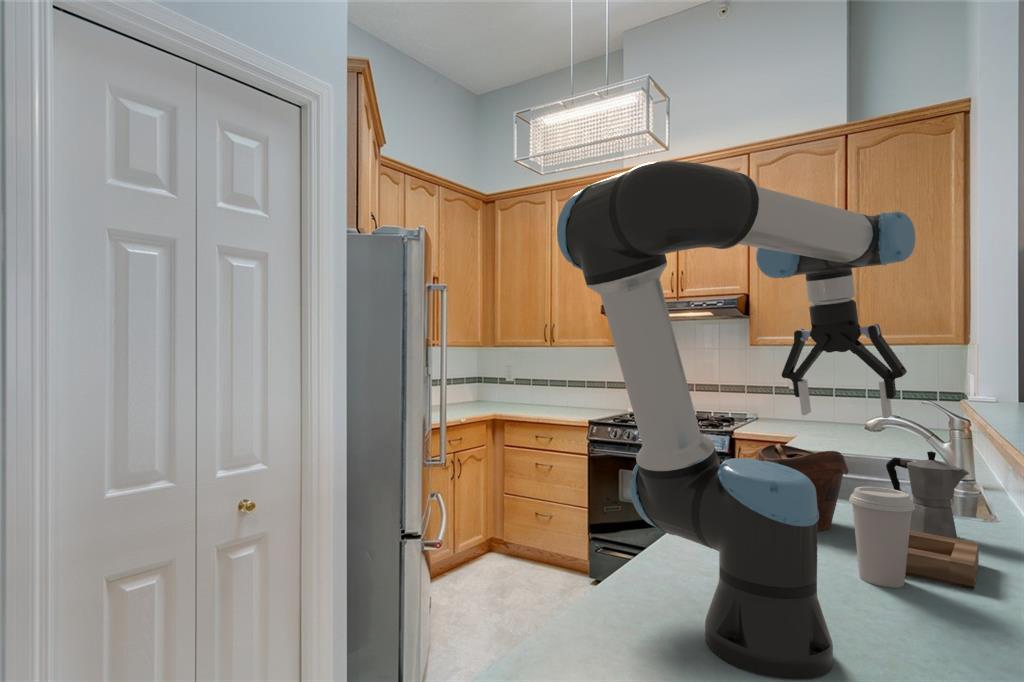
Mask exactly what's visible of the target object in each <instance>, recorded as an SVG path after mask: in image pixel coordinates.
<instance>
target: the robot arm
mask: <svg viewBox="0 0 1024 682" xmlns="http://www.w3.org/2000/svg"><path fill="white" fill-rule="evenodd" d="M556 226H557V227H556V238H557V243H558V247H559V249H560V252H561V254H562V256H563V257H564V259H565V260H566V261H567V262H568V263H570V264H572V266H573V267H574V268H576V269H578V270H581V271H582V274H583V278H584V280H585V285H586V287H587V288H588V289H590V290H591V291H593V292H595V293H597V294H598V296H600V298H601V299H600V300H601V303H602V305H603V309H604V312H605V316H606V319H607V323H608V326H609V330H610V331H609V332H610V334H611V338H612V342H613V344H614V348H615V352H616V355H617V359H618V363H619V366H620V371H621V373H622V377H623V381H624V384H625V388H626V391H627V395H628V399H629V402H630V405H631V410H632V413H633V416H634V419H635V424H636V426H637V431H638V435H639V437H640V438H639V439H640V441H641V448H640V449H639V451H638V452H637V454H636V457H635V460H636V464H635V465H634V468H633V470H632V475H633V478H632V479H630V482H629V490H630V498H631V501H632V505H633V506H634V508H635V510H636V512H637V513H638V515H639V516H640V517H641V518H642V519H643V521H644V522H646V523H647V524H649V525H651V526H652V527H655V528H657V529H658V530H660V532H664V533H667V534H668V535H670V536H671V535H672V536H676V537H679V538H682V539H685V540H688V541H690V542H693V543H695V544H699V545H701V546H704V547H706V548H709V549H713V550H714V551H717V552H718V555H719V556H718V559H719V561H718V563H719V564H718V565H719V571H718V572H719V573H718V575H719V577H718V578H719V579H718V582H717V586H716V588H715V592H714V594H713V597H712V600H711V603H710V605H709V608H708V611H707V613H706V616H705V620H704V621H705V622H704V640H705V642H706V644H707V647H708V648H709V649H710V650H711V651H712V653H714V654H715V655H716V656H718V657H719V658H720V659H722V660H724V661H726V662H727V663H729V664H731V665H733V666H735V667H737V668H740V669H742V670H744V671H748V672H751V673H754V674H757V675H761V676H767V677H771V678H777V679H782V680H783V679H784V680H785V679H786V680H807V679H808V680H809V679H814V678H817V677H820V676H821V677H822V676H823V675H826V674H827V673H828V672H830V670H831V669H832V667H833V665H834V645H833V640H832V637H831V634H830V630H829V628H828V625H827V622H826V618H825V616H824V614H823V610H822V606H821V604H820V601H819V598H818V534H819V533H818V519H819V511H818V508H817V497H816V489H815V486H814V485H813V483H812V482H811V480H810V479H809V478H808V477H807V476H806V475H804V474H803V473H801V472H799V471H797V470H795V469H792V468H790V467H787V466H784V465H780V464H777V463H773V462H768V461H759V460H756V459H755V458H747V457H745V458H744V457H740V458H739V457H735V458H728V459H725V460H723V461H722V462H721V463H720V460H719V457H718V453H717V449H716V445H715V442H714V440H712V439H711V438H709V437H708V436H706V435H704V434H703V433H701V432H700V431H701V430H700V427H699V423H698V420H697V414H696V411H695V407H694V405H693V401H692V397H691V393H690V392H691V391H690V389H689V385H688V383H687V382H688V381H687V377H686V374H685V369H684V367H683V363H682V358H681V355H680V351H679V347H678V344H677V339H676V336H675V331H674V328H673V323H672V321H671V318H670V317H671V316H670V312H669V307H668V305H667V304H668V303H667V302H666V298H665V293H664V289H663V286H662V281H661V276H662V274H663V272H664V271H665V269H667V266H668V261H667V260H668V259H667V257H666V256H667V255H668V254H671V253H676V252H681V251H686V250H687V251H688V250H691V249H693V250H695V249H700V248H712V249H719V250H727V249H731V248H734V247H736V246H738V245H740V246H741V245H742V246H747V247H752V248H757V249H756V252H755V258H756V264H757V266H758V269H759V271H761V273H763V274H764V275H765V276H766V277H769V278H771V279H786V278H787V279H788V278H791V277H795V276H801V275H804V276H805V282H806V292H807V299H808V302H809V303H811V304H810V305H809V307H808V310H809V317H810V324H811V328H810V330H805V329H804V328H800V329H797V330H795V331H794V332H793V344H792V346H791V349H790V351H789V355H788V356H787V359H786V362H785V364H784V367H783V369H782V372H781V377H782V378H783V379H789V380H791V381H792V387H793V395H794V397H795V398H799V403H800V411H801V415H802V416H807V415H808V414H810V413H811V412H812V408H811V399H810V392H809V384H808V379H807V378H804V376H805V375H806V373H808V371H809V369H810V368H811V367H812V365H814V363H815V362H816V361H817V360H818V358H819V356H821V354H822V353H823V352H825V353H834V352H838V353H846V352H848V351H850V352H851V353H853V354H854V355H856V356H857V357H858V358H860V360H862V361H863V362H864V363H865V364H866V365H867V366H868V367H870V369H871V370H873V371H874V372H875V374H877V375H878V376H879V377H880V378H881V379H880V381H878V386H879V396H880V404H881V413H882V414H881V415H882V419H889V418H890V417H891V416H892V415H893V411H892V402H891V400H892V399H894V398H896V396H897V389H896V388H897V387H896V379H899V378H902V377H903V376H905V375H906V374H907V369H906V368H905V366H904V365H903V364H902V362H901V361H900V359H899V358H898V356H897V355H896V353H895V351H893V349H892V348H891V346H890V345H889V343H888V342H887V340H885V338H884V336H883V334H882V330H881V327H880V325H879V324H878V323H873V324H871V325H868V326H862V327H861V326H860V324H859V318H858V310H857V309H858V307H857V301H855V299H852V298H854V297H855V295H856V294H855V283H854V282H855V281H854V275H853V271H852V270H853V269H856V268H865V267H872V266H873V267H874V266H881V265H882V266H887V265H889V264H895V263H901V262H904V261H907V259H909V258H910V257H911V256H912V254H913V252H914V249H915V247H916V230H915V226H914V223H913V221H912V220H911V217H910V216H908V214H906V213H904V212H901V211H891V212H882V213H880V214H875V215H874V214H873V215H866V214H863V213H860V212H859V213H858V212H855V211H851V210H847V209H844V208H841V207H836V206H832V205H829V204H824V203H821V202H818V201H817V202H816V201H813V200H810V199H806V198H802V197H799V196H795V195H791V194H787V193H783V192H780V191H776V190H771V189H768V188H764V187H760V186H758V185H757V184H756V182H755V181H754V180H753V178H751V177H750V176H749V175H747V174H745V173H742V172H737V171H736V170H735V171H734V170H731V169H728V168H723V167H718V166H715V165H709V164H703V163H696V162H689V161H679V160H678V161H677V160H658V161H652V162H647V163H643V164H641V165H638V166H635V167H633V168H631V169H630V170H627V171H624V172H621V173H618V174H616V175H614V176H611V177H608V178H606V179H602V180H600V181H597V182H594V183H591V184H589V185H586V187H585V188H583V189H581V190H580V191H578V192H576V193H574V194H573V195H571V196H570V198H569V199H567V200H566V202H565V204H564V205H563V208H562V209H561V211H560V213H559V216H558V220H557V225H556ZM862 335H864V336H865V337H866V339H869V340H870V341H871V343H872V344H873V346H874V348H875V349H876V351H877V352H878V353H879V355H880V356H881V357H882V359H883V360H884V362H885V363H886V364H887V365H885V363H884V362H882V361H881V360H880V359H879V358H878V357H876V356H875V354H874V353H872V352H871V351H870V350H869V349H868V348H867V347H866V346H865V345H864V343H862V342H861V340H859V338H860V337H861V336H862ZM809 338H811V339H812V340H813V342H815V345H814V346H813V347H812V348H811V350H810V352H809V354H807V356H806V357H805V359H804V360H803V362H801V364H800V365H799V367H798V368H797V369H796V370H795V368H796V367H797V364H798V361H799V358H800V356H801V355H802V351H803V349H804V346H805V343H806V342H807V341H808V340H809Z"/></svg>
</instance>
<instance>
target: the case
mask: <svg viewBox="0 0 1024 682" xmlns="http://www.w3.org/2000/svg"><path fill="white" fill-rule="evenodd" d="M754 459H756V460H759V461H768V462H773V463H777V464H780V465H784V466H787V467H790V468H792V469H795V470H797V471H799V472H801V473H803V474H804V475H806V476H807V477H808V478H809V479H810V480H811V482H812V483H813V485H814V486H815V489H816V497H817V508H818V511H819V519H818V531H826V530H829V529H830V528H831V526H832V523H833V519H834V516H835V511H836V507H837V503H838V499H839V494H840V492H841V491H840V490H841V486H842V481H843V475H848V474H849V471H850V470H849V468H848V466H847V463H846V461H845V457H844V455H843V454H842V453H841V452H840V451H836V450H825V451H819V452H813V451H810V450H807V449H802V448H798V447H795V446H791V445H786V444H782V443H779V442H778V443H776V444H769V445H765V446H764V447H763V448H760V450H759V451H758V452H757V453H756V455H755V458H754Z"/></svg>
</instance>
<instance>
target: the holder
mask: <svg viewBox="0 0 1024 682" xmlns="http://www.w3.org/2000/svg"><path fill="white" fill-rule="evenodd" d="M978 570H979V542H977V541H972V540H964V539H958V538H957V539H955V538H949V537H943V536H937V535H932V534H926V533H920V532H914V531H910V532H909V542H908V552H907V562H906V572H905V576H907V577H912V578H916V579H920V580H926V581H930V582H936V583H940V584H944V585H948V586H953V587H957V588H958V587H959V588H962V589H967V590H971V591H975V588H976V587H975V585H976V582H977V581H976V580H977V577H978V576H977V575H978Z"/></svg>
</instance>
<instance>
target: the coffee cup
mask: <svg viewBox="0 0 1024 682" xmlns="http://www.w3.org/2000/svg"><path fill="white" fill-rule="evenodd" d="M902 491H903V490H901V491H898V490H894V488H893V489H892V488H887V487H886V488H885V487H879V486H858V487H855V488H854V489H853V492H852V493H851V494H850V496H849V499H848V501H849V503H851V504H852V513H853V524H854V535H855V544H856V546H855V547H856V555H857V565H858V566H857V568H858V576H859V578H860V579H861V580H862V581H864V582H867V583H869V584H871V585H874V586H878V587H884V588H895V589H896V588H902V587H904V586H905V582H906V581H905V580H906V575H905V572H906V562H907V552H908V542H909V532H910V523H911V514H912V511H913V510H915V506H914V504H913V500H912V499H911V496H910V494H909V493H905V492H906V491H904V492H902Z"/></svg>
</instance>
